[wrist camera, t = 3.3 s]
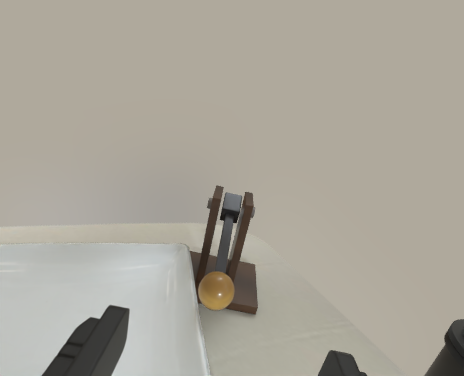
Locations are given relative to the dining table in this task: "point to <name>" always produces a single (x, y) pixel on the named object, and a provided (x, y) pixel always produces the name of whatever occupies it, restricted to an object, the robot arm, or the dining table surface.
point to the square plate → (100, 304)
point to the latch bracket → (236, 270)
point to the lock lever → (221, 261)
